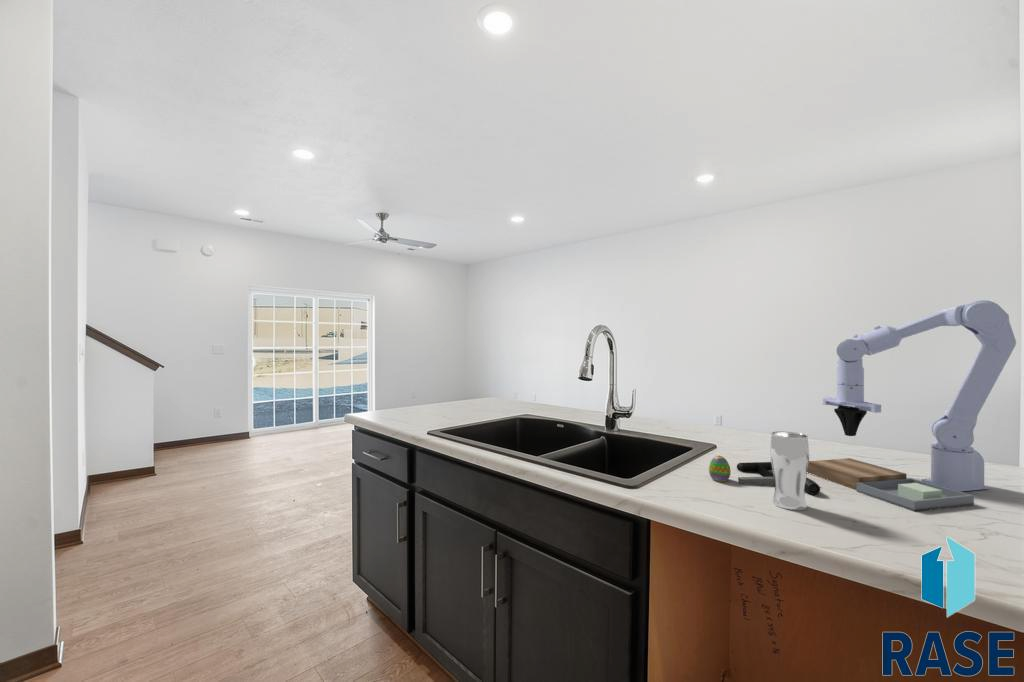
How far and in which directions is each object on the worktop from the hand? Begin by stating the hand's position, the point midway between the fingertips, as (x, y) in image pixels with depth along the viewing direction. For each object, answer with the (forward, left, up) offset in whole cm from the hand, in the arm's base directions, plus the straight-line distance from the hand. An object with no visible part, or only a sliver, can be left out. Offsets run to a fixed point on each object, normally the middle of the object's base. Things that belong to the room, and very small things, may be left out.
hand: (850, 435), depth 117 cm
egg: (+39, -1, -10) cm, 40 cm away
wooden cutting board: (+6, +6, -9) cm, 13 cm away
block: (+6, +21, -9) cm, 24 cm away
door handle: (+28, +2, -10) cm, 29 cm away
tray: (+6, +19, -9) cm, 22 cm away
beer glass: (+36, +17, -10) cm, 41 cm away
